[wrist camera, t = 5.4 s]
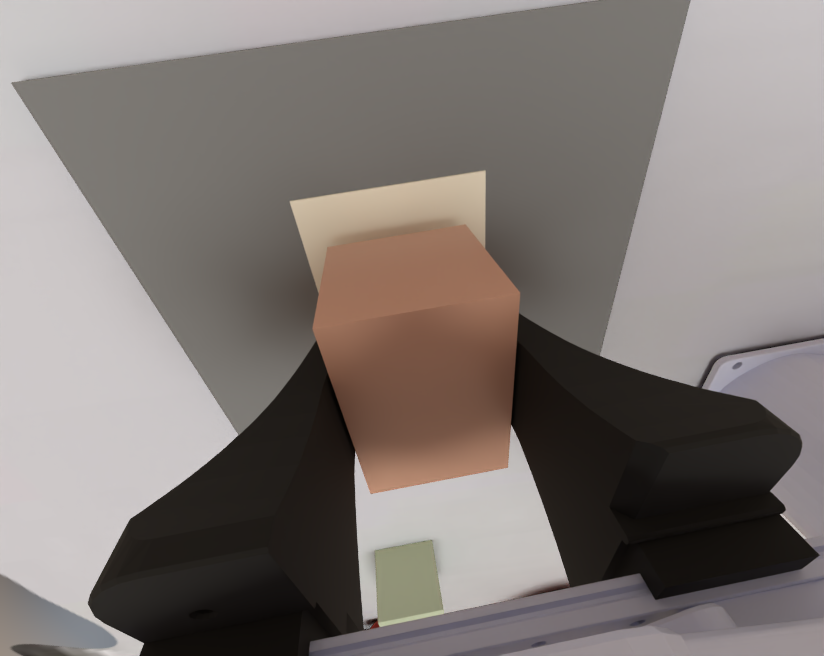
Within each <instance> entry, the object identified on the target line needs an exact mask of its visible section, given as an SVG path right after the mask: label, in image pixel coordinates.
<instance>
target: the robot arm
mask: <svg viewBox="0 0 824 656" xmlns="http://www.w3.org/2000/svg"><path fill="white" fill-rule="evenodd" d="M511 425H512V427H513V429H514V431H515V433H516V435H517V437H518V439H519V442H520V444H521V446H522V449H523V452H524V454H525V457H526V459H527V462H528V465H529V467H530V470H531V472H532V475H533V478H534V481H535V483H536V486H537V489H538V492H539V494H540V497H541V500H542V502H543V505H544V508H545V511H546V514H547V517H548V520H549V523H550V526H551V529H552V531H553V534H554V537H555V540H556V543H557V546H558V550H559V553H560V556H561V559H562V562H563V565H564V568H565V571H566V574H567V577H568V581H569V584H570V587H571V588H566V589H561V590H557V591H552V592H547V593H542V594H537V595H533V596H528V597H523V598H518V599H513V600H508V601H504V602H499V603H494V604H489V605H484V606H479V607H475V608H470V609H465V610H460V611H455V612H450V613H446V614H441V615H436V616H431V617H426V618H422V619H417V620H412V621H407V622H402V623H397V624H393V625H388V626H383V627H378V628H373V629H368V630H364V628H363V616H362V603H361V590H360V576H359V561H358V545H357V526H356V507H355V481H354V465H355V448H354V445H353V442H352V440H351V437H350V434H349V431H348V428H347V425H346V423H345V420H344V417H343V414H342V411H341V408H340V406H339V403H338V400H337V397H336V394H335V391H334V389H333V386H332V383H331V380H330V377H329V374H328V372H327V369H326V366H325V363H324V360H323V357H322V355H321V352H320V349H319V346H318V343H317V340H316V341H315V343H314V344H313V346H312V348H311V349H310V351H309V352H308V354H307V355H306V357H305V358H304V360H303V361H302V363H301V364H300V366H299V367H298V369H297V370H296V371H295V373H294V374H293V376H292V377H291V378H290V380H289V381H288V382H287V383H286V385H285V386H284V387H283V389H282V390H281V391H280V393H279V394H278V395H277V396H276V397H275V399H274V400H273V401H272V402H271V403H270V404H269V405H268V407H267V408H266V409H265V410H264V411H263V412H262V413H261V414H260V415H259V416H258V417H257V418H256V419H255V420H254V421H253V422H252V423H251V424H250V425H249V426H248V427H247V428H246V429H245V430H244V431H243V432H242V433H241V434H240V435H238V436H237V437H236V438H235V439H234V440H233V441H232V442H231V443H230V444H229V445H228V446H227V447H226V448H224V449H223V450H222V451H221V452H220V453H219V454H217V455H216V456H215V457H214V458H213V459H211V460H210V461H209V462H208V463H207V464H205V465H204V466H203V467H201V468H200V469H199V470H198V471H196V472H195V473H194V474H193V475H191V476H190V477H189V478H187V479H186V480H185V481H184V482H182V483H181V484H180V485H178V486H177V487H175V488H174V489H173V490H171V491H170V492H168V493H167V494H166V495H164V496H163V497H161V498H160V499H158V500H157V501H156V502H154V503H153V504H151V505H150V506H149V507H147V508H146V509H144V510H143V511H142V512H140V513H139V514H137V515H136V516H134V517H133V518H131V519H130V521H129V522H128V524H127V526H126V528H125V529H124V531H123V533H122V535H121V537H120V539H119V541H118V543H117V545H116V546H115V548H114V550H113V552H112V554H111V556H110V558H109V560H108V562H107V564H106V565H105V567H104V569H103V571H102V573H101V575H100V577H99V579H98V581H97V582H96V584H95V586H94V588H93V590H92V592H91V594H90V597H89V601H88V605H89V607H90V609H91V611H92V612H93V614H94V616H95V617H96V618H98V619H99V620H101V621H102V622H103V623H105V624H107V625H109V626H111V627H113V628H115V629H117V630H119V631H121V632H123V633H125V634H127V635H129V636H131V637H133V638H135V639H137V640H139V641H141V642H143V643H144V645H143V648H142V651H141V653H140V656H824V338H822V339H817V340H811V341H806V342H800V343H795V344H789V345H784V346H779V347H773V348H768V349H762V350H757V351H751V352H746V353H740V354H735V355H730V356H725V357H722V358H720V359H718V360H717V361H716V362H715V364H714V365H713V367H712V369H711V371H710V373H709V375H708V377H707V379H706V381H705V383H704V385H703V387H702V388H698V387H694V386H690V385H687V384H683V383H679V382H676V381H672V380H668V379H665V378H661V377H658V376H655V375H651V374H648V373H645V372H642V371H639V370H636V369H633V368H630V367H628V366H625V365H622V364H619V363H616V362H614V361H611V360H608V359H606V358H603V357H601V356H599V355H596V354H594V353H592V352H590V351H587V350H585V349H583V348H580V347H578V346H576V345H574V344H572V343H570V342H568V341H566V340H564V339H562V338H561V337H559V336H557V335H555V334H553V333H551V332H549V331H548V330H546V329H544V328H542V327H541V326H539V325H537V324H536V323H534V322H532V321H531V320H529V319H528V318H526V317H524V316H523V315H521V314H520V313H519V318H518V332H517V346H516V360H515V374H514V388H513V402H512V416H511ZM780 514H783V515H784V516H785V517H786V518H787V519H788V520H789V521H790V522H791V523H792V524H793V525H794V526H795V527H796V528H797V529H798V530H799V531H800V532H801V533H802V534H803V535H804V536H805V537H806V538H807V539H803V538H802V537H801V536H800V535H799V534H798V533H797V532H796V531H795V530H794V529H793V528H792V526H791V525H790V524H789V523H788V522H787V521H786V520H785V519H784V518H783V517H782V516H781V515H780Z"/></svg>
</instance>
